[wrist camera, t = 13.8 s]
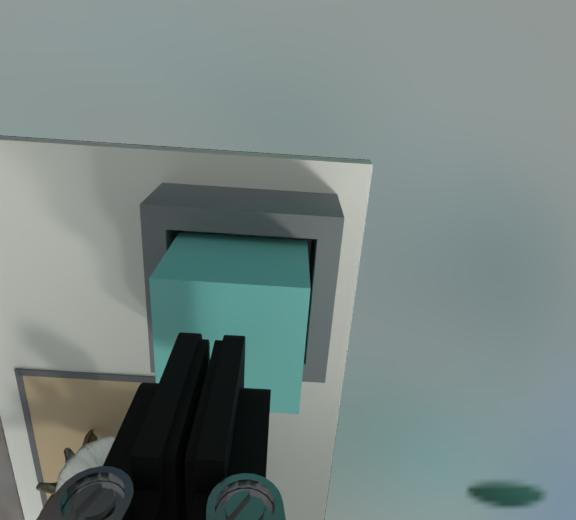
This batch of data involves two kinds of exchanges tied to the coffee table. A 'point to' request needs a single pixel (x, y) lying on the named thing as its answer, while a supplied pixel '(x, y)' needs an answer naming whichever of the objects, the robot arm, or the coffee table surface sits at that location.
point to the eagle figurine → (79, 461)
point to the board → (136, 289)
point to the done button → (237, 305)
